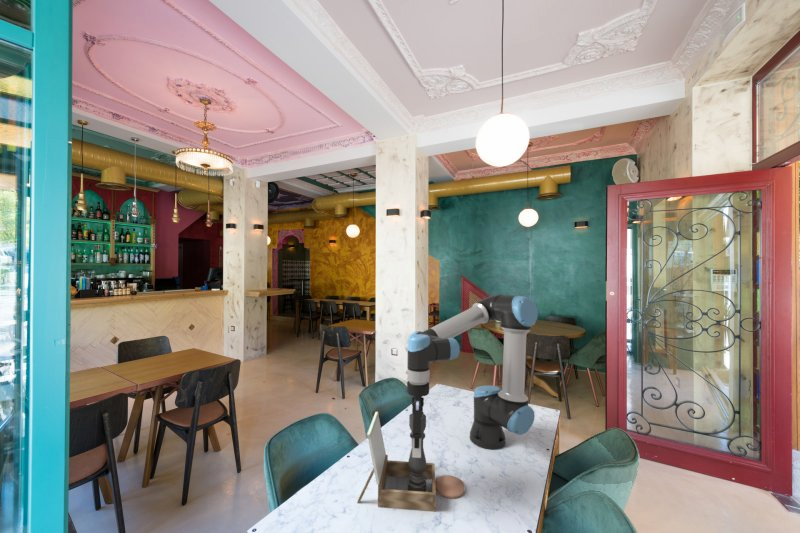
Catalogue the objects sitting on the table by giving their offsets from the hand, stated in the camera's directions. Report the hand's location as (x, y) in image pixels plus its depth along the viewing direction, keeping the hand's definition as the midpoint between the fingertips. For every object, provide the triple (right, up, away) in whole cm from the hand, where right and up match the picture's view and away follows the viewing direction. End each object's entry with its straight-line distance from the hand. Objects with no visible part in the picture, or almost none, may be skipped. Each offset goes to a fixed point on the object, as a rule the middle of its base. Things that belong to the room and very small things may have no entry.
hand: (417, 445), depth 103 cm
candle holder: (0, -16, 0) cm, 16 cm away
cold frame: (-6, -15, 0) cm, 17 cm away
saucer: (+11, -16, +2) cm, 19 cm away
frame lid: (-14, -8, +1) cm, 16 cm away
